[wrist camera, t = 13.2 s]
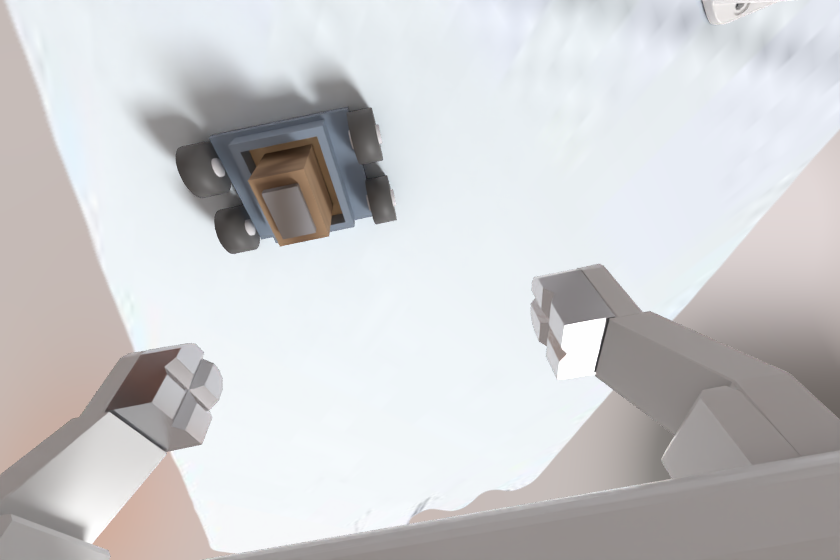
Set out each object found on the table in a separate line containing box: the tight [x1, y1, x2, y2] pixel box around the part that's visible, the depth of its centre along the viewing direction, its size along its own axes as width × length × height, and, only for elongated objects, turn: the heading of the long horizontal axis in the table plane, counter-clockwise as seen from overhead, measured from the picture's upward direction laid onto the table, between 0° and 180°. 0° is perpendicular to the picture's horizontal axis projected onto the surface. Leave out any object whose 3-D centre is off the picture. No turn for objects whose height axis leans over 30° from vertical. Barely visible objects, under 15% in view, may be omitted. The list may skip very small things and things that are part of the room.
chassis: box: [176, 107, 397, 254], centre depth 38 cm, size 19×12×5 cm, turn 99°
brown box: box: [248, 144, 333, 246], centre depth 36 cm, size 5×7×8 cm
